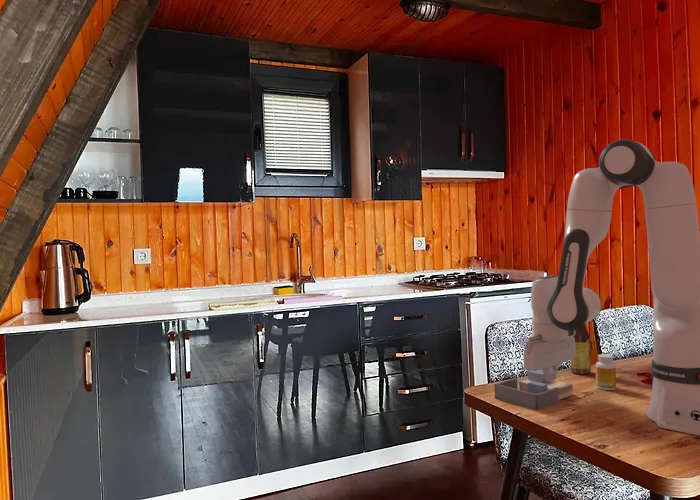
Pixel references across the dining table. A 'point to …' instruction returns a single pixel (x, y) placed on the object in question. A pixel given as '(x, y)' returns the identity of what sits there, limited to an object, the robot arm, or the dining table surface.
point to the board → (551, 387)
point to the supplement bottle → (605, 372)
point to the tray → (524, 395)
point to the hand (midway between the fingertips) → (550, 380)
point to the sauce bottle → (581, 352)
